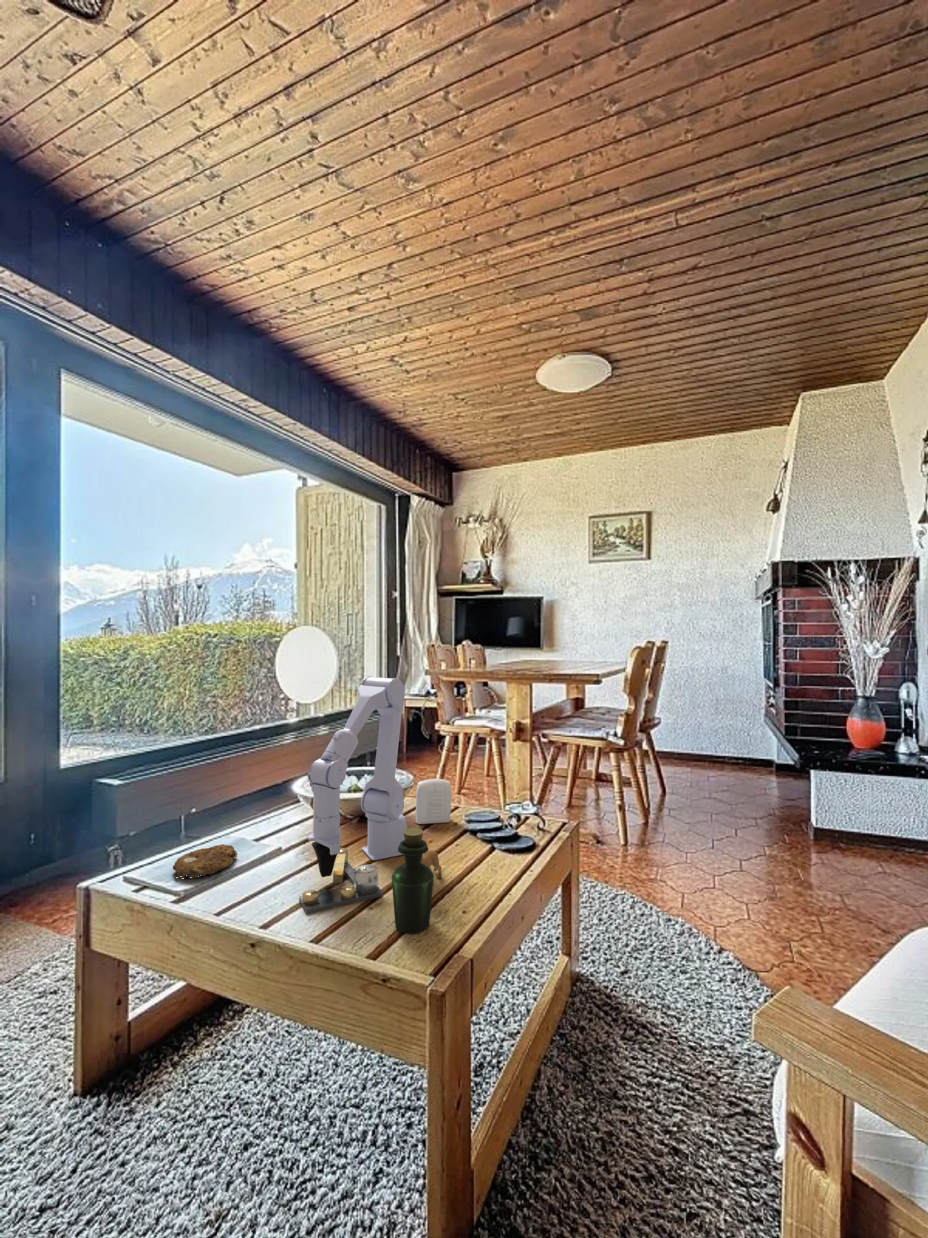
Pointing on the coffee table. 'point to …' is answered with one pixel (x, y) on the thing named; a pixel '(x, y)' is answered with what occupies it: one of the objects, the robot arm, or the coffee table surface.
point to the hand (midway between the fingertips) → (325, 875)
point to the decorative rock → (204, 861)
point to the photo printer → (433, 801)
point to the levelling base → (335, 895)
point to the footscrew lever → (340, 866)
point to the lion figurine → (432, 861)
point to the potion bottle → (412, 885)
